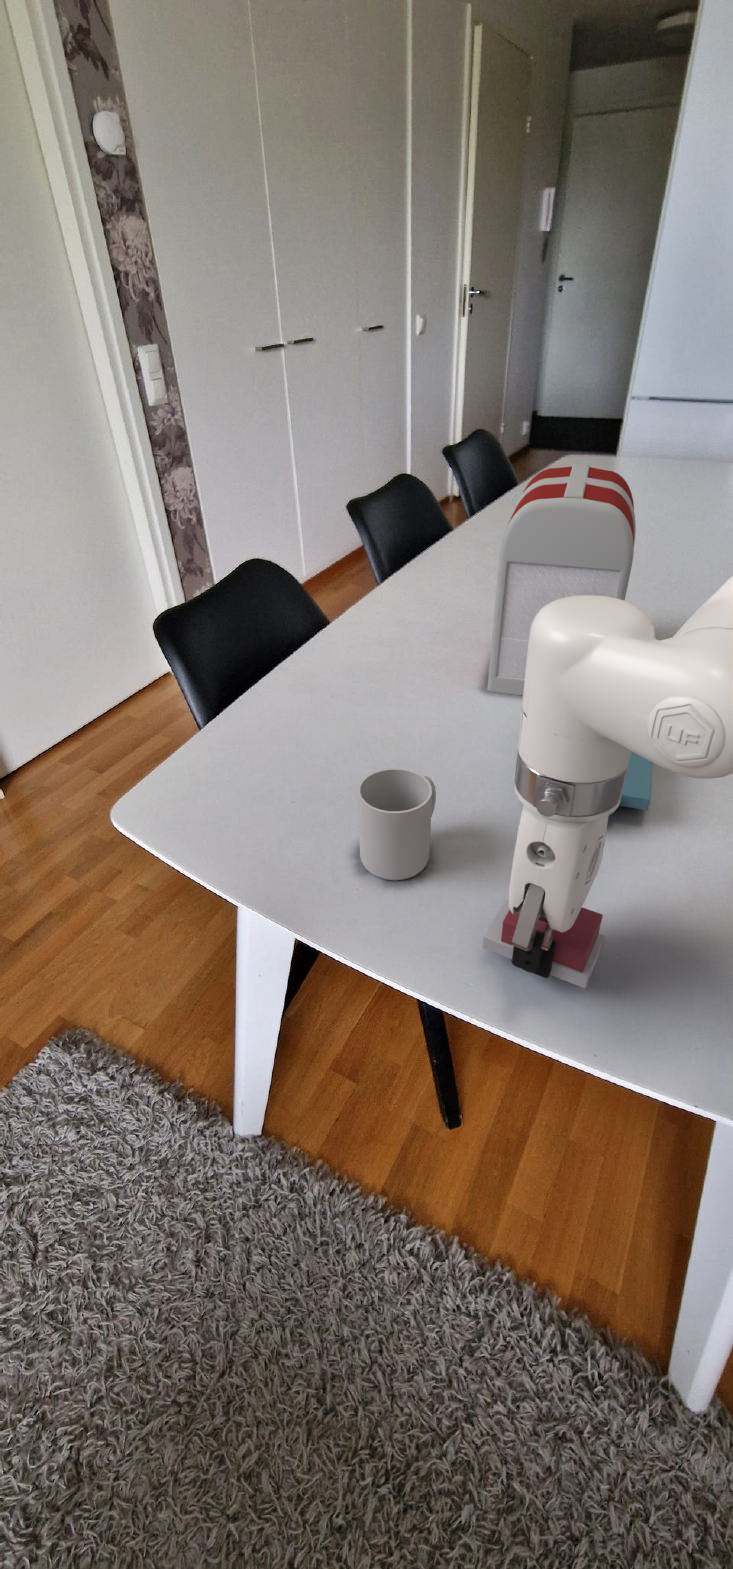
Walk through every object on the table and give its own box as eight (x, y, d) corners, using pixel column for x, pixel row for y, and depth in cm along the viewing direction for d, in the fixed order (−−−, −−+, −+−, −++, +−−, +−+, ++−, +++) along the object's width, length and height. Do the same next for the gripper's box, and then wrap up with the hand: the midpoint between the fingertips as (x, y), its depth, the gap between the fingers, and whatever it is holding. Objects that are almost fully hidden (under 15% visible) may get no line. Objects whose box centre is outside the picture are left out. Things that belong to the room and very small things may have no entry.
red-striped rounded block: (484, 691, 100) (502, 493, 84) (502, 639, 114) (520, 460, 98) (605, 706, 96) (647, 501, 80) (608, 650, 110) (645, 465, 94)
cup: (345, 861, 73) (341, 793, 67) (405, 813, 79) (406, 747, 73) (400, 893, 69) (400, 823, 64) (458, 840, 75) (463, 773, 70)
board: (546, 717, 94) (550, 691, 92) (648, 733, 91) (655, 706, 88) (515, 824, 77) (519, 796, 74) (640, 849, 73) (649, 820, 71)
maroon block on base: (602, 947, 61) (609, 914, 58) (585, 989, 57) (592, 956, 55) (503, 910, 64) (507, 879, 62) (482, 948, 61) (484, 916, 59)
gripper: (586, 862, 42) (552, 1040, 53) (651, 730, 54) (612, 897, 65) (472, 826, 46) (461, 1000, 56) (556, 708, 57) (534, 871, 68)
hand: (542, 944), depth 61 cm, fingers closed on maroon block on base, 5 cm apart
